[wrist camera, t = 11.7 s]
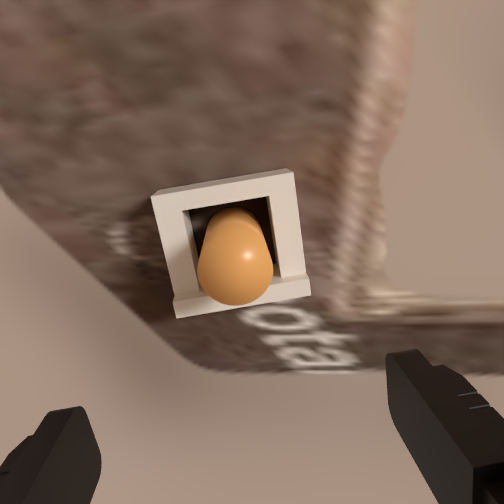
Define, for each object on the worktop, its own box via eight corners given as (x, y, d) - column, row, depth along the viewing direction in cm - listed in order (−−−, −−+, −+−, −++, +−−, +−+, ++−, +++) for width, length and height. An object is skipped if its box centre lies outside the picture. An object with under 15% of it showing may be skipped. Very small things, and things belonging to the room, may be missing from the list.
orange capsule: (201, 211, 27) (190, 241, 20) (256, 202, 27) (267, 228, 20) (212, 264, 28) (205, 311, 21) (265, 255, 28) (278, 298, 21)
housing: (158, 189, 27) (147, 199, 23) (286, 168, 27) (295, 173, 23) (183, 294, 29) (176, 318, 25) (300, 274, 29) (311, 295, 25)
